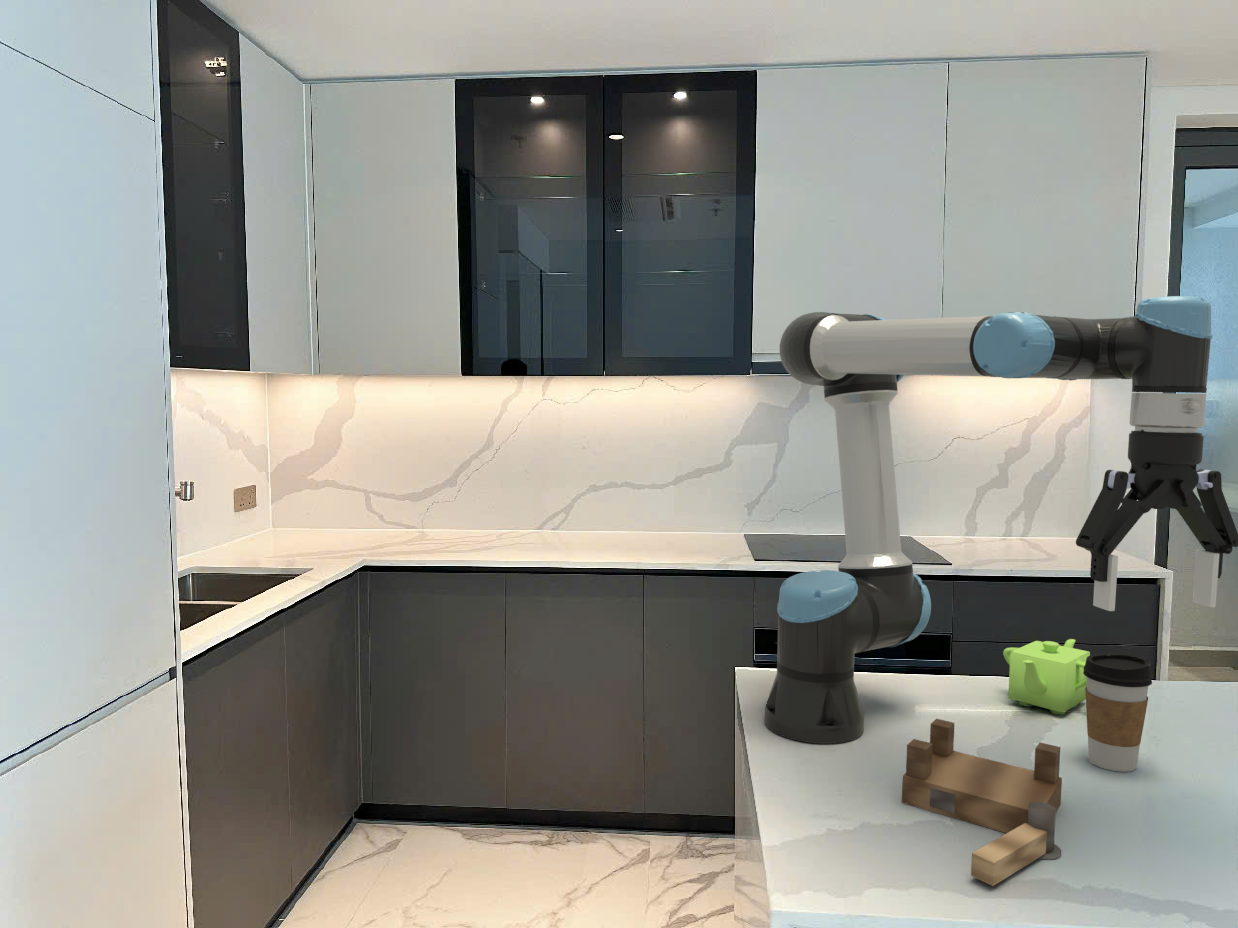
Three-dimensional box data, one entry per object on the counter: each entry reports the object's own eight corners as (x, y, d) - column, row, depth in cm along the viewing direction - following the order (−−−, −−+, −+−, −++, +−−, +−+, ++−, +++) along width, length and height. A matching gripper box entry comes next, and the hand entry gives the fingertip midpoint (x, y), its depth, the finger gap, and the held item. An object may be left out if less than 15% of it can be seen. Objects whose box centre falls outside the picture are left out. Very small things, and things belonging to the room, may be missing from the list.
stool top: (890, 813, 109) (892, 754, 108) (932, 770, 121) (934, 717, 121) (1056, 863, 97) (1060, 798, 97) (1084, 810, 110) (1087, 752, 109)
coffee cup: (1157, 778, 119) (1163, 670, 118) (1089, 772, 121) (1095, 665, 120) (1134, 753, 128) (1140, 652, 126) (1070, 748, 129) (1076, 648, 128)
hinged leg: (1034, 836, 102) (1036, 799, 102) (1058, 846, 100) (1060, 808, 100) (969, 874, 94) (971, 834, 94) (994, 886, 92) (996, 845, 92)
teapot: (1070, 691, 155) (1074, 631, 154) (1115, 719, 141) (1119, 654, 140) (984, 691, 154) (987, 631, 153) (1021, 719, 141) (1025, 654, 140)
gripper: (1093, 431, 98) (1082, 617, 100) (1285, 431, 103) (1271, 610, 105) (1050, 427, 106) (1040, 601, 108) (1230, 428, 110) (1218, 595, 112)
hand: (1154, 606), depth 106 cm, fingers open, 13 cm apart
